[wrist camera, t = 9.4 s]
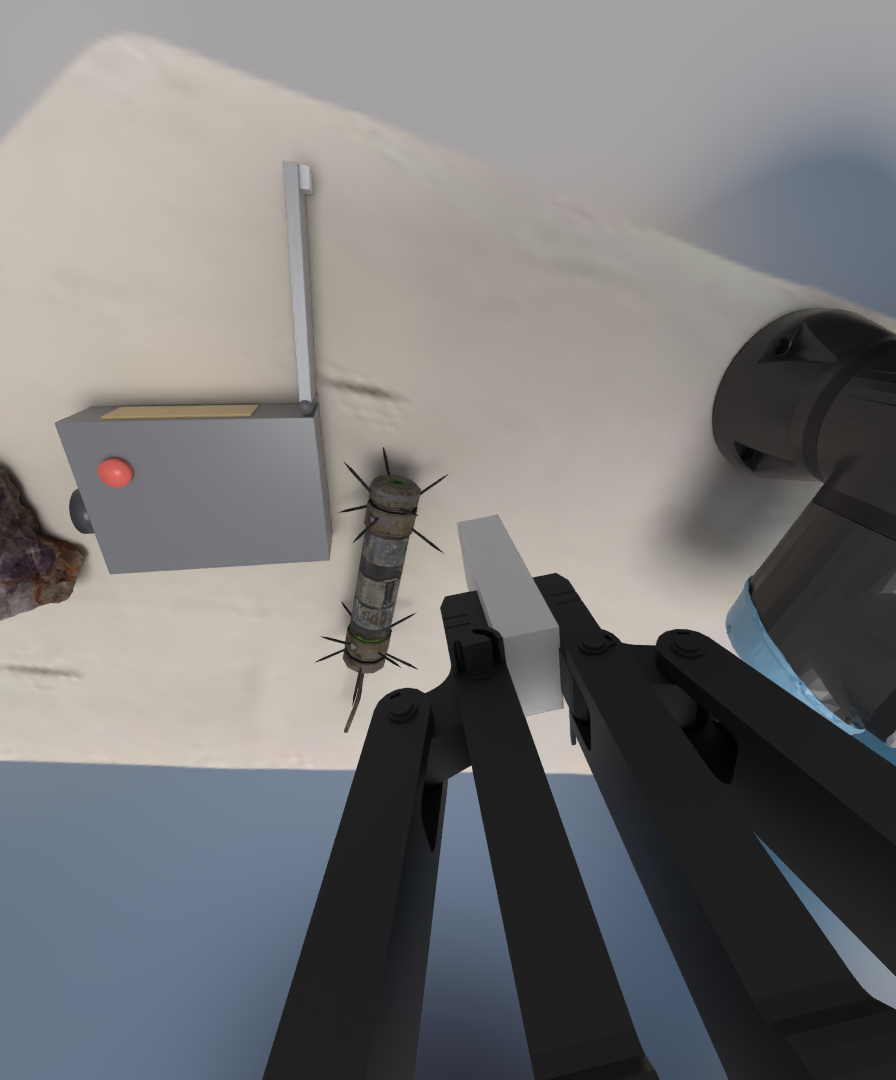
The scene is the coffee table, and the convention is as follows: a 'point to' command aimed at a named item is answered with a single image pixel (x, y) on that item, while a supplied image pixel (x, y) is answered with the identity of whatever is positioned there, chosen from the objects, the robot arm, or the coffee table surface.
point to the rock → (30, 559)
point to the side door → (300, 278)
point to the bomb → (379, 574)
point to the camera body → (199, 485)
